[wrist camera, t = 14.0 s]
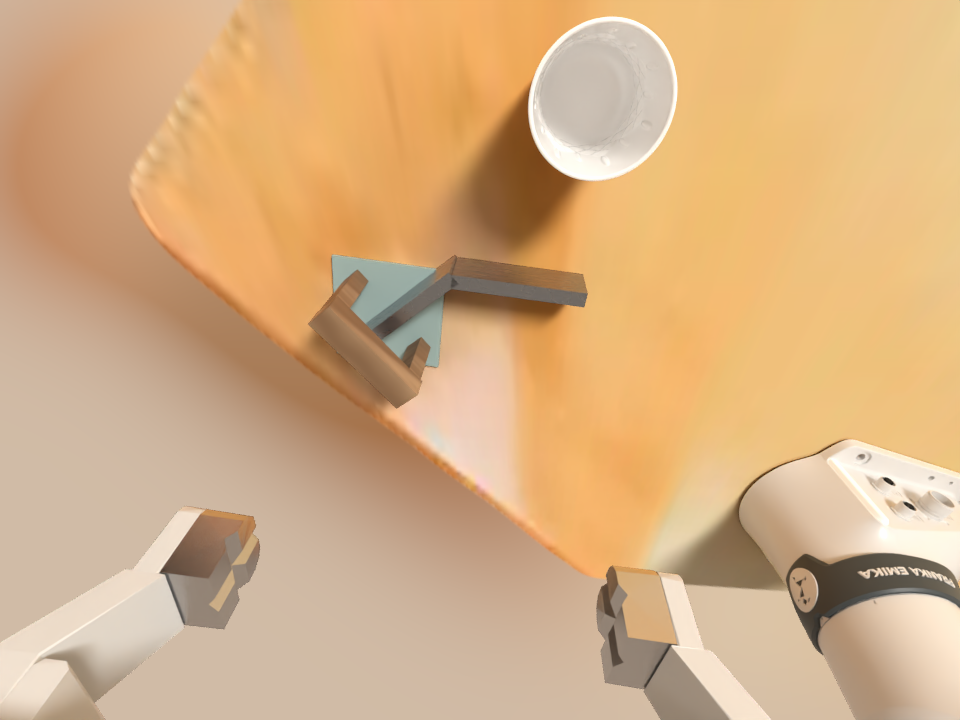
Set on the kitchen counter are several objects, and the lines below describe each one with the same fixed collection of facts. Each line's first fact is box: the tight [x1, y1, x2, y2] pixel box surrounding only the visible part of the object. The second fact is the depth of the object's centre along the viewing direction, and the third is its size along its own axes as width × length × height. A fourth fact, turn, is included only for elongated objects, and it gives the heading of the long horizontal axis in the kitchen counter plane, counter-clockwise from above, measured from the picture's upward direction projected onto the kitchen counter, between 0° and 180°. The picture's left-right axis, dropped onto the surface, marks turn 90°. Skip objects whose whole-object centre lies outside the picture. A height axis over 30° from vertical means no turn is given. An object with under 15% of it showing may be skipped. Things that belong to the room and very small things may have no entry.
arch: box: [308, 269, 431, 409], centre depth 42 cm, size 2×10×8 cm, turn 38°
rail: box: [366, 255, 588, 340], centre depth 43 cm, size 19×9×4 cm, turn 83°
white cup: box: [528, 17, 677, 181], centre depth 31 cm, size 8×8×10 cm
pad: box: [332, 255, 444, 367], centre depth 45 cm, size 10×10×1 cm
